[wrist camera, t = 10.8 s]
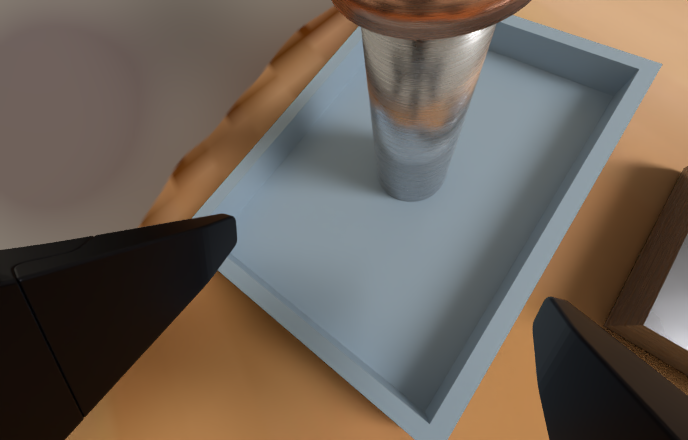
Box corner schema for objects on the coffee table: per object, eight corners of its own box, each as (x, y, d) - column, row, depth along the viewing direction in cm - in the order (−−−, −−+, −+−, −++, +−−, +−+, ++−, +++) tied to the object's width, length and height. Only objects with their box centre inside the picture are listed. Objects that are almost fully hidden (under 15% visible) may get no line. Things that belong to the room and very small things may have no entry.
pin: (461, 217, 17) (599, -19, 5) (360, 212, 18) (299, 5, 6) (459, 130, 19) (560, -183, 7) (367, 130, 20) (330, -143, 8)
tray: (429, 436, 14) (436, 458, 12) (204, 247, 19) (177, 235, 17) (626, 99, 18) (662, 64, 16) (399, 14, 23) (400, -22, 21)
